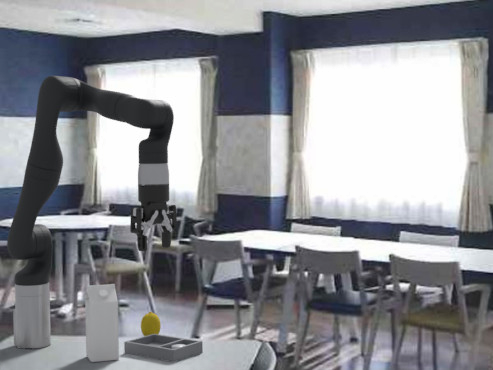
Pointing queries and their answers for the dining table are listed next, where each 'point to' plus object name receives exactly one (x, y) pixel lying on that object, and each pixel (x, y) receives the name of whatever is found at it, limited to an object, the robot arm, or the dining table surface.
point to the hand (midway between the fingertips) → (154, 249)
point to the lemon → (150, 324)
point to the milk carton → (101, 323)
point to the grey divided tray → (163, 347)
